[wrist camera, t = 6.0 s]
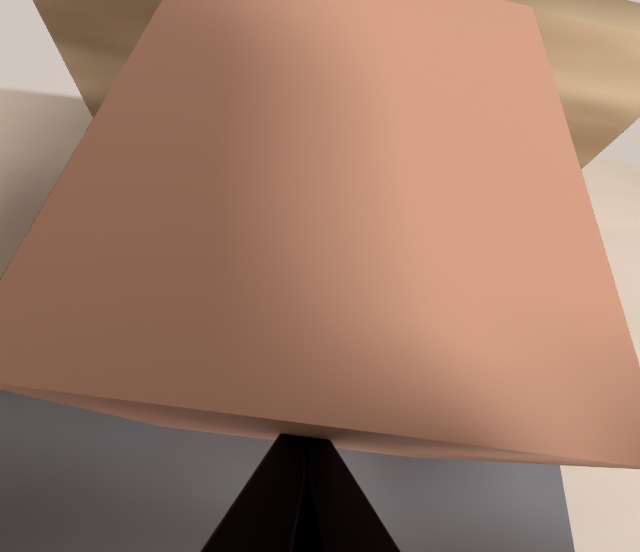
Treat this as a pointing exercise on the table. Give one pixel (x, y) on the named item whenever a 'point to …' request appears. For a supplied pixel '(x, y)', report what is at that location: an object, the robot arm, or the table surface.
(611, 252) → the table surface
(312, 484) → the robot arm
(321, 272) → the terracotta block
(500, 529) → the stop jig
